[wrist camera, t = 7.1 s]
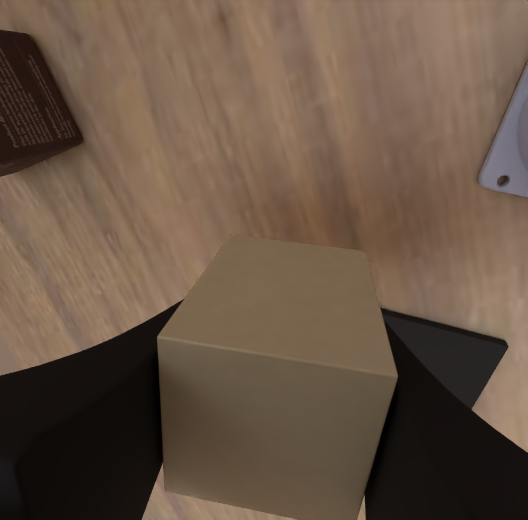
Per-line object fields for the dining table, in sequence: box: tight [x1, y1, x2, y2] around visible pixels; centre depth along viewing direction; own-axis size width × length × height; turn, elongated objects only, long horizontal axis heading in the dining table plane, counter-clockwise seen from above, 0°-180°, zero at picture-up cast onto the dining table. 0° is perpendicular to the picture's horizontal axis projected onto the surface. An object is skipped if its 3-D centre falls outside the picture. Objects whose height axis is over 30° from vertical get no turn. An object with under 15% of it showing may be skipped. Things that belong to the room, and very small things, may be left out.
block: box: [157, 234, 398, 520], centre depth 10 cm, size 4×4×6 cm
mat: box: [381, 309, 508, 409], centre depth 24 cm, size 14×12×1 cm
